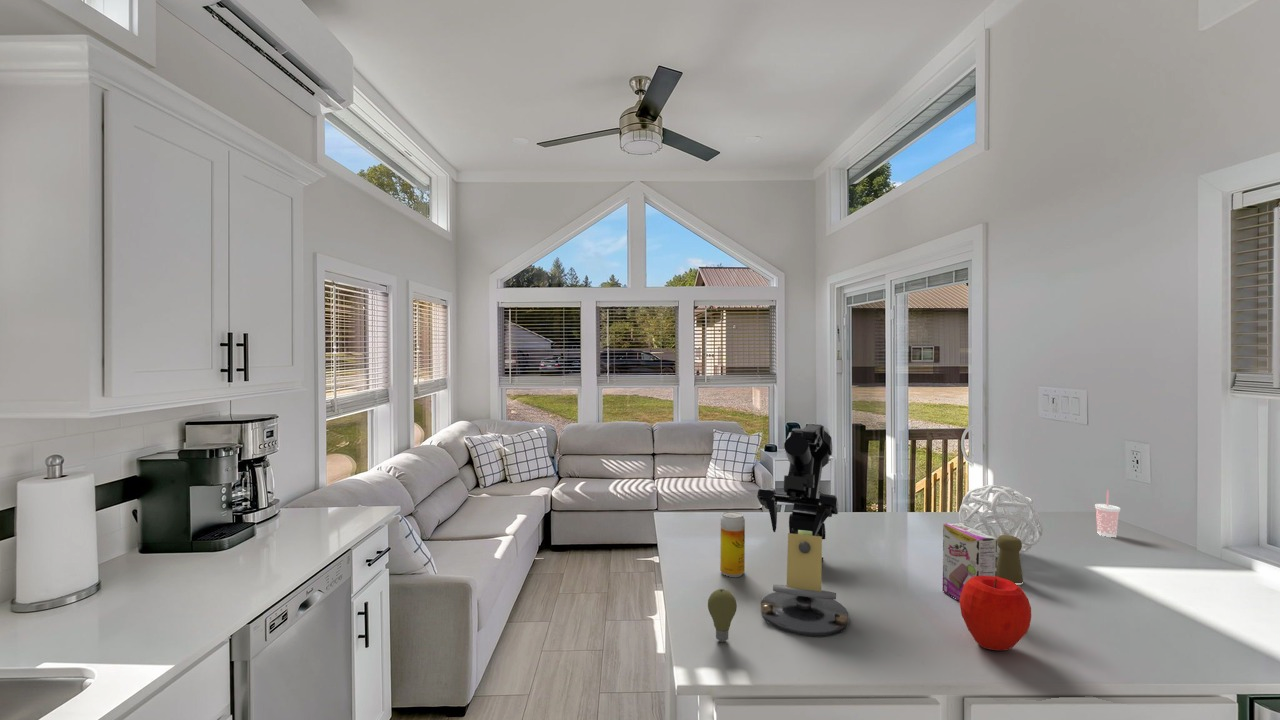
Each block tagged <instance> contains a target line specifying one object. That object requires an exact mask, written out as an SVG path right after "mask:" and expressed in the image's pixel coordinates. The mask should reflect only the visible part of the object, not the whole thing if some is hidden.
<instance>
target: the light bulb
mask: <svg viewBox="0 0 1280 720" xmlns="http://www.w3.org/2000/svg"><path fill="white" fill-rule="evenodd" d="M737 607H738V606H737V599H736V597H735V596H734V595H733V593H732V592H730V591H729V590H727V589H724V588H719V589H716V590H714V591H713V592H712V593H711V594H710V595H709V597H708V599H707V609H708V613H709V614H710V617H711V619H712V622H713V626H714V628H715V639H716V640H718V641H719V642H720V643H725V642H726V641H728V640H729V630H730V628H731V623H732V621H733V619H734V617H735V615H736V612H737Z"/></svg>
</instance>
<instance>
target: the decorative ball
mask: <svg viewBox="0 0 1280 720" xmlns="http://www.w3.org/2000/svg"><path fill="white" fill-rule="evenodd" d="M990 494H994V496H993V498H992V499H991V501H990V500H989V498H990ZM1001 496H1003V497H1005V498H1006V499H1007V501H1006V500H1002V498H1001ZM984 498H985V499H984ZM961 500H962V501H961V505H960V507H959V511H958V520H959V523H962V524H964V525H967V526H969V524H970V523H971V522H973V523H976V524H975V526H974V527H973V528H974V529H976V530H978V531H980V532H983V533H985V534H987V535H990V536H992V537H994V538H996V539H998V537H999V536H1001V535H1010V536H1014V537H1017V538H1019V539H1020V540H1021V542H1022V548H1021V550H1020V551H1019V555H1021V554H1024V553H1026V552H1028V551H1029V550H1031V548H1032V547H1033V546H1035V545H1037V544H1038V543H1039V542H1040V540H1041V537H1042V536H1043V533H1044V527H1043V524H1042V522H1041V520H1040V516H1039V513H1038V512H1037V511H1036V510H1037V509H1035V508H1034V506H1033V505H1032V504H1033V502H1034V501H1033V500H1032V499H1031V498H1030V497H1028V496H1025V495H1024V494H1022V493H1021V492H1019V491H1018V490H1017V489H1015V488H1013V487H1008V486H1004V485H1002V486H1001V485H993V484H986V485H984V486H980V487H977V488H974V489H971V490H968V491H967V492H966V493H965V495H964V496H963V498H962V499H961ZM971 504H973V505H971ZM983 506H985V508H984V509H983V511H982V512H981V511H980V509H981V508H982V507H983ZM997 507H998V508H1001V510H1002V513H1003V514H1002V513H998V511H997ZM1009 507H1014V508H1015V510H1016V512H1015V513H1014V514H1013V513H1012V512H1011V511H1010V509H1008V508H1009ZM1024 509H1025V510H1026V511H1027V514H1028V516H1027V517H1025V516H1023V511H1024ZM988 512H991V513H992V514H987V513H988ZM975 514H976V515H977V516H978V519H977V518H975V517H974V516H975ZM986 514H987V515H986ZM993 519H994V520H993ZM1002 519H1007V520H1004V521H1002ZM989 520H992V521H989ZM1010 524H1011V525H1012V526H1011V528H1010V529H1009V528H1006V527H1005V526H1008V525H1010ZM1022 525H1023V526H1022ZM982 526H984V527H985V529H982ZM993 526H996V527H997V526H998V527H999V532H1000V533H999V532H996V530H995V529H994V528H993ZM1035 529H1036V530H1035ZM1014 532H1015V533H1014ZM1023 533H1024V534H1023ZM1013 534H1014V535H1013ZM1022 534H1023V536H1022ZM999 549H1000V548H999V547H998V545H997V555H996V556H997V557H998V554H999Z"/></svg>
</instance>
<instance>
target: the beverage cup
mask: <svg viewBox="0 0 1280 720" xmlns="http://www.w3.org/2000/svg"><path fill="white" fill-rule="evenodd" d="M1109 492H1110V490H1109V489H1107V490H1106V503H1095V504H1094V509H1095V513H1096V514H1095V515H1096V516H1095V517H1096V531H1097V532H1096V533H1098V534H1099V536H1101V535H1102V536H1101V537H1104V536H1106V537H1105V538H1111V537H1115V538H1117V534H1118V524H1119V523H1118V522H1119V514H1120V512H1121V507H1120V506H1116V505H1113V504H1109V501H1110V499H1109V498H1110V493H1109ZM1098 534H1097V535H1098Z"/></svg>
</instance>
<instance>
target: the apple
mask: <svg viewBox="0 0 1280 720" xmlns="http://www.w3.org/2000/svg"><path fill="white" fill-rule="evenodd" d="M958 603H959V608H960V614H961V616H962V619H963V621H964V623H965V625H966V628H967V630H968V631H969V633H970V635H971V637H972V638H973V639H974V640H975V642H976V643H977V644H978V645H979V646H981V647H983V649H986V650H987V649H988V650H992V651H1007V650H1010V649H1012V648H1013V647H1014V646H1016V645H1017V644H1018V643H1019V642H1020V640H1021V639H1023V638H1024V637H1025V636H1026V634H1027V632H1028V630H1029V629H1030V626H1031V621H1032V606H1031V604H1030V600H1029V599H1028V596H1027V595H1026V594H1025V592H1024V590H1023V588H1022V587H1020V585H1016V584H1015V583H1013V582H1012V581H1010V580H1007V579H1004V578H1000V577H994V576H975V577H971V578H970V579H969V580H968V581H967V582H966V583H965V584H964V586H963V589H962V592H961V595H960V601H958Z"/></svg>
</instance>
